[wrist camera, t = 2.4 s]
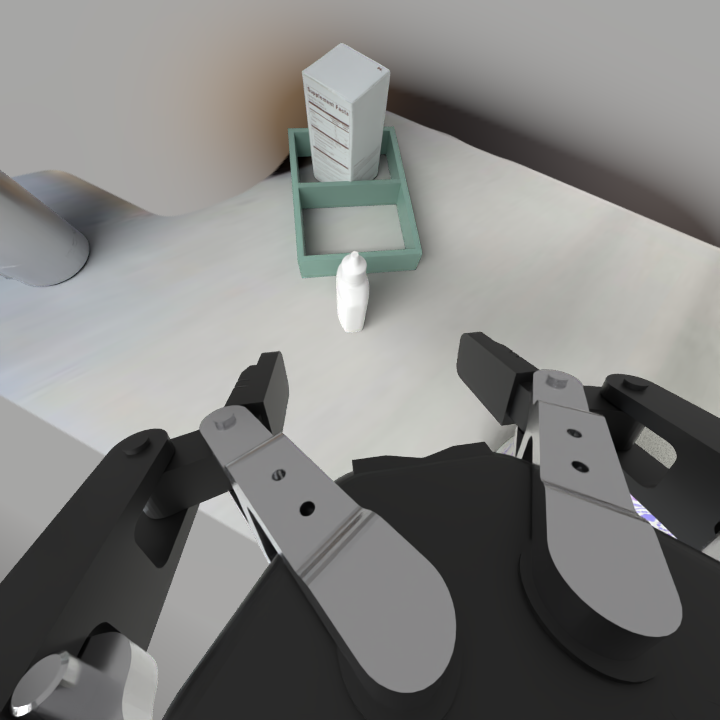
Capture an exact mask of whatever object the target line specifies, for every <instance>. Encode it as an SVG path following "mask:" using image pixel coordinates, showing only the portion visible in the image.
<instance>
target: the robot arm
mask: <svg viewBox="0 0 720 720" xmlns="http://www.w3.org/2000/svg"><path fill="white" fill-rule="evenodd" d="M88 255H89V244H88V241H87V239H86V238H85V236H84V235H83V234H82V233H81V232H79V231H78V230H77V229H76V228H74V227H73V226H72V225H70V224H69V223H68V222H67V221H65V220H64V219H63V218H61V217H60V216H59V215H58V214H56V213H55V212H54V211H52V210H51V209H50V208H49V207H47V206H46V205H45V204H44V203H42V202H41V201H40V200H38V199H37V198H36V197H35V196H33V195H32V194H31V193H29V192H28V191H27V190H26V189H24V188H23V187H22V186H20V185H19V184H18V183H17V182H15V181H14V180H13V179H11V178H10V177H9V176H8V175H6V174H5V173H4V172H2V171H1V170H0V275H1V276H3V277H5V278H14V279H16V280H18V281H20V282H22V283H25V284H28V285H31V286H50V285H54V284H58V283H60V282H63V281H65V280H67V279H68V278H70V277H72V276H73V275H74V274H76V273H77V272H78V271H79V270H80V269H81V268H82V267H83V265H84V264H85V262H86V260H87V258H88ZM457 372H458V375H459V377H460V378H461V379H462V381H463V382H464V383H465V384H466V385H467V386H468V387H469V389H470V390H471V391H472V392H473V393H474V394H475V396H476V397H477V398H478V399H479V400H480V401H481V403H482V404H483V405H484V406H485V407H486V408H487V409H488V411H489V412H490V413H491V414H492V415H493V416H494V418H495V419H496V420H497V421H498V422H499V423H500V425H501V426H502V425H509V424H516V425H517V427H516V430H515V436H514V447H513V456H511V455H507V454H502V453H496V452H492V451H491V449H490V448H489V447H488V445H487V444H486V443H485V442H479V443H472V444H465V445H457V446H452V447H450V448H447V449H445V450H442V451H440V452H437V453H435V454H432V455H430V456H427V457H424V458H414V457H400V456H378V457H371V458H364V459H357V460H352V465H353V471H352V472H350V473H347V474H345V475H343V476H342V477H340V478H338V479H337V480H335V481H333V480H332V479H331V478H329V477H328V476H327V475H326V474H325V473H324V472H323V471H322V470H321V469H320V468H319V467H318V466H317V465H316V464H315V463H314V462H313V461H312V460H311V459H310V458H309V457H307V456H306V455H305V454H304V453H303V452H302V451H301V450H300V449H299V448H298V447H297V446H296V445H295V444H294V443H293V442H292V441H291V440H290V439H289V438H288V437H287V436H285V435H284V434H283V433H282V431H283V426H284V420H285V415H286V409H287V403H288V398H289V385H288V380H287V375H286V371H285V366H284V361H283V357H282V354H281V352H280V351H278V352H268V353H262V354H261V356H260V358H259V361H258V363H257V365H252V366H249V367H248V368H247V369H246V370H244V371H243V372H242V373H241V375H240V377H239V379H238V382H237V383H236V385H235V388H234V389H233V391H232V393H231V395H230V397H229V399H228V400H227V402H226V404H225V406H224V407H223V408H220V409H218V410H215V411H214V412H212V413H210V414H209V415H208V416H206V417H205V418H204V419H203V421H202V422H201V424H200V427H199V430H197V431H194V432H191V433H188V434H185V435H182V436H179V437H176V438H173V439H170V438H169V436H168V434H167V432H166V431H165V430H162V429H149V430H144V431H141V432H138V433H136V434H133V435H131V436H129V437H127V438H126V439H124V440H122V441H121V442H119V443H118V444H117V445H116V446H114V447H113V448H112V449H111V450H110V451H109V453H108V454H107V455H106V456H105V457H104V459H103V460H102V461H101V462H100V464H99V465H98V466H97V467H96V468H95V470H94V471H93V472H92V473H91V474H90V476H89V477H88V478H87V479H86V480H85V482H84V483H83V484H82V485H81V487H80V488H79V489H78V490H77V491H76V493H75V494H74V495H73V496H72V498H71V499H70V500H69V501H68V502H67V503H66V505H65V506H64V507H63V508H62V510H61V511H60V512H59V513H58V514H57V516H56V517H55V518H54V519H53V520H52V522H51V523H50V524H49V525H48V527H47V528H46V529H45V530H44V531H43V533H42V534H41V535H40V536H39V537H38V539H37V540H36V541H35V542H34V543H33V545H32V546H31V547H30V548H29V550H28V551H27V552H26V553H25V554H24V556H23V557H22V558H21V559H20V560H19V562H18V563H17V564H16V565H15V566H14V568H13V569H12V570H11V571H10V572H9V574H8V575H7V576H6V577H5V579H4V580H3V581H2V582H1V583H0V720H153V719H152V718H153V717H152V714H153V705H154V700H155V695H156V690H157V685H158V668H157V664H156V662H155V660H154V658H153V657H152V656H150V655H149V654H148V653H147V652H146V651H147V649H148V646H149V643H150V640H151V638H152V635H153V632H154V629H155V627H156V624H157V621H158V618H159V615H160V612H161V610H162V607H163V604H164V601H165V599H166V596H167V593H168V590H169V587H170V585H171V582H172V579H173V576H174V573H175V571H176V568H177V565H178V563H179V560H180V557H181V554H182V551H183V548H184V546H185V543H186V540H187V538H188V535H189V532H190V529H191V526H192V524H193V521H194V518H195V515H196V513H197V510H198V507H199V504H200V503H201V502H204V501H206V500H209V499H211V498H213V497H216V496H218V495H221V494H223V493H225V492H228V493H229V495H230V496H231V498H232V500H233V501H234V503H235V505H236V506H237V508H238V510H239V511H240V513H241V515H242V516H243V518H244V520H245V521H246V523H247V525H248V526H249V528H250V530H251V531H252V533H253V535H254V537H255V539H256V541H257V543H258V545H259V547H260V548H261V550H262V552H263V554H264V556H265V558H266V559H267V561H268V563H269V566H268V567H267V569H266V570H265V571H264V573H263V574H262V576H261V577H260V578H259V580H258V581H257V583H256V584H255V585H254V587H253V588H252V590H251V591H250V592H249V594H248V595H247V597H246V598H245V599H244V601H243V602H242V603H241V605H240V607H239V608H238V609H237V611H236V612H235V613H234V615H233V616H232V618H231V619H230V620H229V622H228V623H227V624H226V626H225V627H224V629H223V630H222V632H221V633H220V634H219V636H218V637H217V639H216V640H215V641H214V643H213V644H212V646H211V647H210V648H209V650H208V651H207V652H206V654H205V655H204V657H203V658H202V660H201V661H200V662H199V664H198V665H197V667H196V668H195V669H194V671H193V672H192V674H191V675H190V676H189V678H188V679H187V681H186V682H185V683H184V685H183V686H182V688H181V689H180V690H179V692H178V693H177V695H176V697H175V698H174V700H173V701H172V703H171V704H170V706H169V708H168V710H167V711H166V713H165V715H164V717H163V719H162V720H720V418H718V417H716V416H714V415H713V414H711V413H709V412H707V411H705V410H703V409H701V408H699V407H698V406H696V405H694V404H692V403H690V402H688V401H686V400H684V399H683V398H681V397H679V396H677V395H675V394H673V393H671V392H669V391H668V390H666V389H664V388H662V387H660V386H658V385H656V384H654V383H652V382H650V381H648V380H645V379H642V378H639V377H635V376H631V375H625V374H612V375H609V376H607V377H606V380H605V382H604V384H603V386H602V387H596V386H583V385H582V383H581V382H580V381H579V380H578V379H577V378H575V377H574V376H572V375H569V374H567V373H564V372H561V371H556V370H549V369H544V370H539V369H537V368H536V367H534V366H533V365H532V364H530V363H529V362H527V361H526V360H524V359H523V358H522V357H519V355H517V354H516V353H514V352H513V351H512V350H510V349H509V348H507V347H506V346H504V345H502V344H499V343H497V342H495V341H493V340H492V339H491V338H489V337H488V336H486V335H485V334H484V333H482V332H473V333H464V334H463V335H462V336H461V339H460V345H459V352H458V358H457ZM645 426H646V427H647V428H649V429H650V430H651V431H653V432H654V433H656V434H657V435H659V436H660V437H662V438H663V439H665V440H666V441H667V442H669V443H670V444H671V445H672V446H673V447H674V449H675V451H676V454H677V459H676V461H675V463H674V464H673V465H672V466H671V468H670V469H668V468H667V467H665V466H664V465H663V464H662V463H660V462H659V461H658V460H656V459H655V458H654V457H652V456H651V455H650V454H649V453H647V452H646V451H645V450H643V449H642V448H641V447H639V446H638V445H637V444H636V443H635V442H636V440H637V438H638V437H639V435H640V434H641V432H642V431H643V429H644V427H645ZM630 494H631V495H632V496H633V497H634V498H635V499H636V500H637V501H638V502H639V503H640V504H641V505H642V506H643V507H644V508H646V509H647V510H648V511H649V512H650V513H651V514H652V515H653V516H654V517H655V518H656V519H657V520H658V521H659V522H660V523H661V524H662V525H663V526H664V527H665V528H666V529H667V530H669V531H670V532H671V533H672V534H673V535H674V536H675V537H676V538H677V539H676V538H674V537H672V536H670V535H668V534H666V533H665V532H663V531H661V530H659V529H657V528H655V527H653V526H652V525H651V524H650V523H649V521H648V520H646V519H645V518H643V517H641V516H640V515H639V514H638V513H637V512H636V510H635V508H634V505H633V502H632V499H631V496H630Z"/></svg>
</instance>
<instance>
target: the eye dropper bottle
mask: <svg viewBox="0 0 720 720" xmlns="http://www.w3.org/2000/svg"><path fill="white" fill-rule="evenodd" d="M366 268H367V264H366V260H365V259H364V258H363V257H362V256H360V255H359V254H358V252H356V251H353V252H351V254H349V255H347V256H345V257H344V258H343V260H342V263H341V264H340V265H339V267H338V270H337V275H336V290H337V312H338V318H339V321H340V323H341V325H342V327H343V329H344V330H345V331H346V332H347V333H352V332H358V331H361V330H362V329H363V326H364V321H365V316H366V310H367V305H368V299H369V282H368V278H367V275H366Z"/></svg>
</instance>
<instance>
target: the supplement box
mask: <svg viewBox="0 0 720 720" xmlns="http://www.w3.org/2000/svg"><path fill="white" fill-rule="evenodd" d="M302 76H303V84H304V93H305V102H306V111H307V120H308V128H309V137H310V146H311V154H312V163H313V172H314V177H315V178H316V179H317V180H319V181H320V182H336V181H349V182H352V181H362V180H372V179H373V178H374V177H376V176H377V174H378V166H379V158H380V150H381V143H382V135H383V127H384V119H385V111H386V102H387V95H388V87H389V79H390V71H389V70H388V69H387V68H385V67H384V66H382V65H381V64H379V63H377V62H375V61H374V60H372V59H370V58H368V57H366V56H365V55H363V54H361V53H359V52H358V51H355V50H354V49H352V48H350V47H349V46H347V45H345V44H343V43H340V44H339V45H338V46H336V47H335V48H334V49H332V50H331V51H330V52H328V53H327V54H326V55H324V56H323V57H322V58H320V59H319V60H317V61H316V62H315V63H313V64H312V65H310V66H309V67H308V68H306V69H305V70H303V71H302Z"/></svg>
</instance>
